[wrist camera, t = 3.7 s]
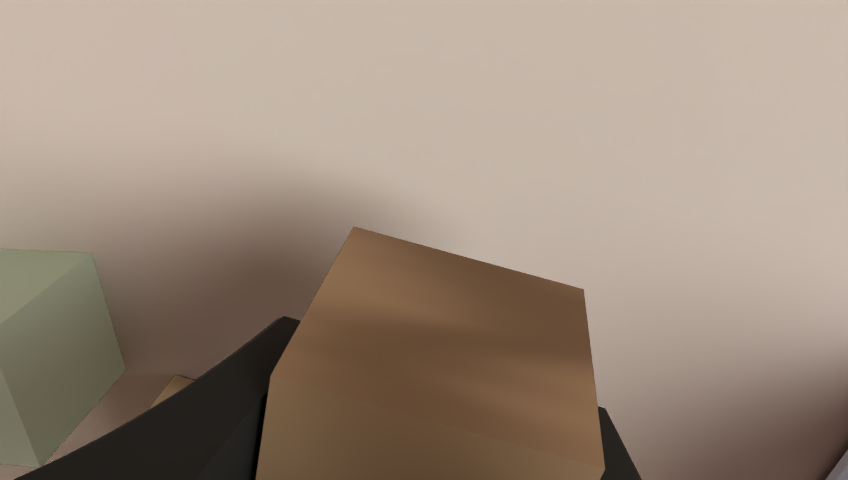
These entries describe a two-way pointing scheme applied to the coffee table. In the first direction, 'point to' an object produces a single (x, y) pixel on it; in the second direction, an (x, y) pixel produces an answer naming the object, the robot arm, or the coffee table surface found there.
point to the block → (51, 350)
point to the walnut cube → (433, 374)
